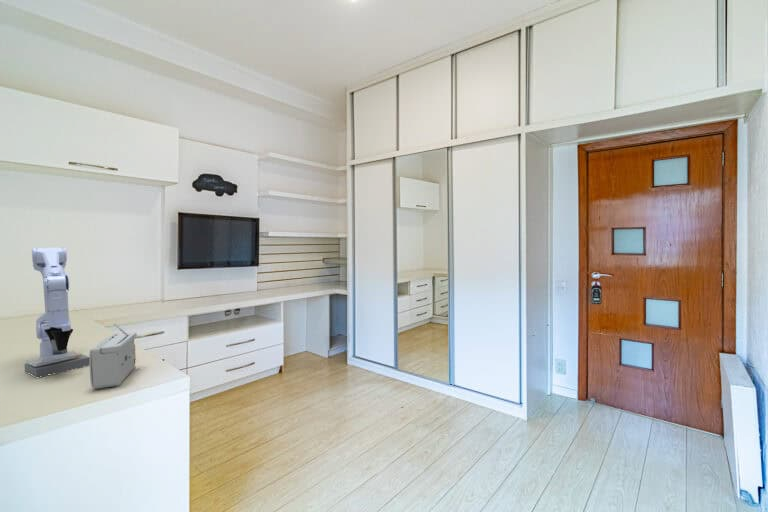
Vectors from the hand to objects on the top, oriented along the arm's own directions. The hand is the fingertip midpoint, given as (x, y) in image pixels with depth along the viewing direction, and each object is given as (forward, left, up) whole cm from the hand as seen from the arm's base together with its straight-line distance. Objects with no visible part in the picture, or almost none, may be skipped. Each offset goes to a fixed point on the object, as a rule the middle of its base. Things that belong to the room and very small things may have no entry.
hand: (59, 349), depth 129 cm
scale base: (-8, +2, -9) cm, 12 cm away
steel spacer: (0, 0, -1) cm, 1 cm away
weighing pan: (-7, +1, -5) cm, 9 cm away
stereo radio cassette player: (+22, +8, -9) cm, 25 cm away
